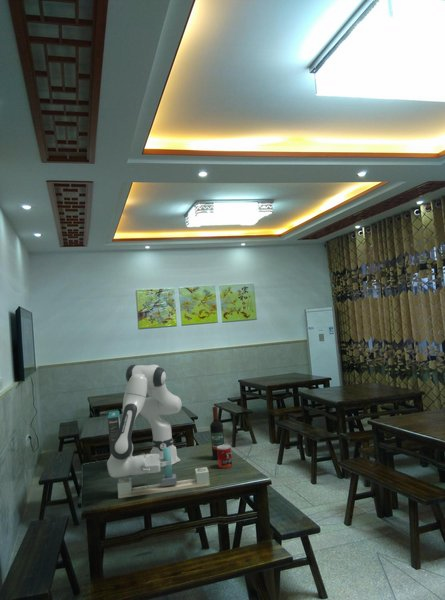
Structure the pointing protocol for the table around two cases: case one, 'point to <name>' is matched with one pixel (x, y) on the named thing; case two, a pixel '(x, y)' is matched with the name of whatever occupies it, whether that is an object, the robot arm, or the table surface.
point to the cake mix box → (113, 426)
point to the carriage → (168, 469)
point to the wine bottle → (216, 433)
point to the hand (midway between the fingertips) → (169, 461)
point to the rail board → (128, 491)
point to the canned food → (224, 456)
